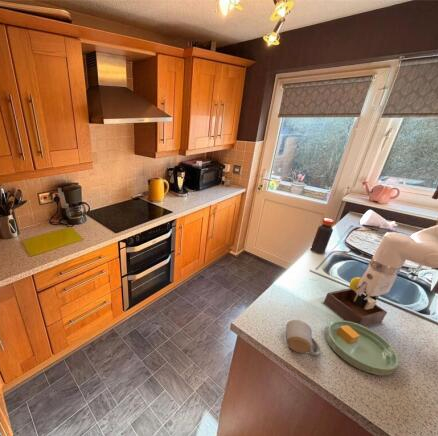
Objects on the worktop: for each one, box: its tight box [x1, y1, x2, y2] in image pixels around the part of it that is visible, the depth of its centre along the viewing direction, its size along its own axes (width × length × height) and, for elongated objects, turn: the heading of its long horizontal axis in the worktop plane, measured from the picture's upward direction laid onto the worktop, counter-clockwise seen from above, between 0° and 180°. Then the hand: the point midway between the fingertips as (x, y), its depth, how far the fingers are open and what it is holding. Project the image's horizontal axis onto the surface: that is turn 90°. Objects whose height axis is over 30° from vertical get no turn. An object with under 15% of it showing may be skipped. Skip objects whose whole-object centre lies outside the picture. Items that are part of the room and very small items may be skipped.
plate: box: [325, 319, 400, 376], centre depth 79 cm, size 18×18×4 cm
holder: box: [323, 287, 388, 328], centre depth 93 cm, size 13×14×6 cm
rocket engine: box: [359, 209, 399, 232], centre depth 163 cm, size 12×12×18 cm
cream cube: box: [354, 292, 377, 310], centre depth 88 cm, size 4×5×4 cm
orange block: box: [337, 325, 360, 344], centre depth 82 cm, size 4×5×4 cm
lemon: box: [349, 276, 362, 291], centre depth 103 cm, size 6×6×8 cm
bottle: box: [310, 218, 335, 255], centre depth 132 cm, size 7×7×20 cm
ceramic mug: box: [285, 319, 321, 356], centre depth 79 cm, size 11×8×8 cm
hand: (363, 304), depth 89 cm, fingers closed on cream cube, 3 cm apart
